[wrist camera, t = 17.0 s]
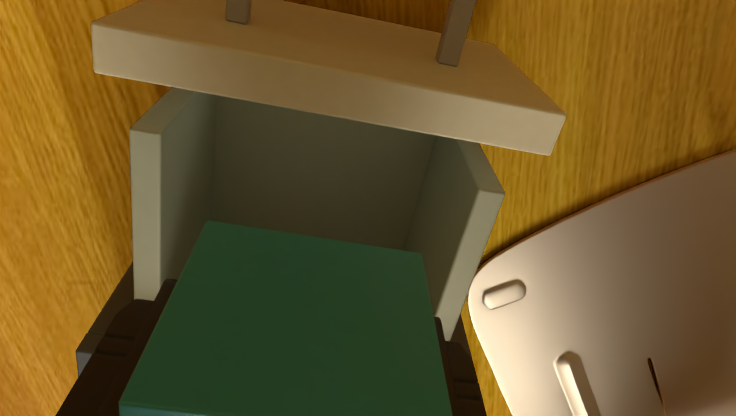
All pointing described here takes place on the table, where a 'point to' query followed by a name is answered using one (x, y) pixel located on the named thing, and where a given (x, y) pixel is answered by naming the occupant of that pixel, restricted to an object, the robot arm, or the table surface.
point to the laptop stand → (620, 303)
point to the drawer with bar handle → (318, 131)
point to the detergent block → (292, 332)
